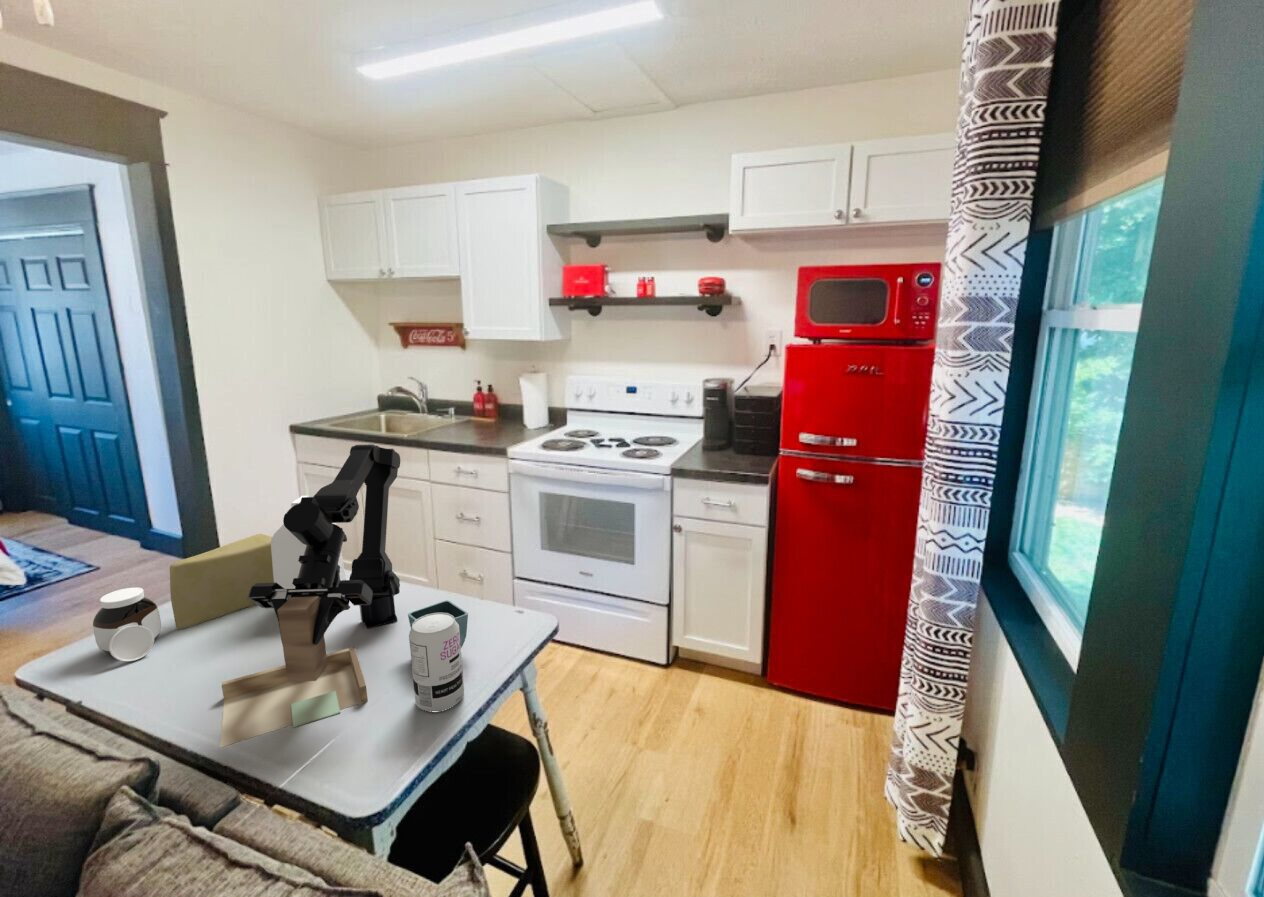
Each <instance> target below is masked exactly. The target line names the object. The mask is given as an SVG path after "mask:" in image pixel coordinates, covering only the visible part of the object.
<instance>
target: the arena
mask: <svg viewBox="0 0 1264 897" xmlns="http://www.w3.org/2000/svg"><path fill="white" fill-rule="evenodd" d="M356 651H357V650H356V647H355V646H352V647H349V648H344V649H341V650H337V651H334V652H330V653H326V655H327V662H328V666H327V667H326V668H325V670H324V671H323V672H322V674H321V675H320V676H319V678H318V679H317V680H316V681H301V682H288V678H287V672H286V665H285V664H284V665H281V666H277V667H274V668H270V669H266V670H261V671H259V672H255V673H252V674H247V675H244V676H240V677H237V678H232V679H229V680H225V681H222V682H221V690H222V696H223V710H222V721H221V730H220V732H221V733H220V742H219V748H223V747H226V746H230V745H233V744H236V743H240V742H242V741H245V740H249V739H252V738H254V737H259V736H262V735H264V734H268V733H271V732H275V731H278V730H281V729H284V728H287V727H290V726H292V728H298V727H300V726H303V725H307V724H309V723H313V722H316V721H319V720H323V719H326V718H329V717H332V716H334V715H338V714H340V713H341V711H342V710H344V709H347V708H350V707H351V708H352V707H353V706H356V705H360V704H363V703H367V702H368V700H369V699H368V692H367V691H368V690H367V683H366V681H365V677H364V675H363V671H362V668H361V665H360V661H359V658H358V654H357V652H356Z"/></svg>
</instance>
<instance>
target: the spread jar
mask: <svg viewBox="0 0 1264 897" xmlns="http://www.w3.org/2000/svg"><path fill="white" fill-rule="evenodd" d="M99 604H100V607H101V608H100V609H99V610H98V611H97V613H96V614H95V615H94V618H93V621H92V630H93V636H94V638H95V639H94V640H95V643H96V645H97V647H98V649H99V650H100V651H102V652H104V653H106V654H108V655H111V656H112V657H113V658H114V659H116V660H118V661H121V662H122V661H123V662H134V661H136V660H140V659H141V658H143V657H145V656H146V655H147V654H148V653H150V651H151V650H152V649H153V646H154V644H155V642H156V640H157V639H158V637H159V636H160V634H161V632H162V619H161V614H160V610H159V608H158V605H157V604H156V602H155V601H154V600H151V599H150V598H148V597H145V591H144V589H143V588H142V587H126V588H121V589H117V590H114V591H111V592H109V593H107V594H104V595H103V596H102V597H100V598H99Z"/></svg>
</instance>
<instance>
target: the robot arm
mask: <svg viewBox="0 0 1264 897" xmlns="http://www.w3.org/2000/svg"><path fill="white" fill-rule="evenodd" d="M400 466H401V456H400V453H398V452H397V451H395V449H394V448H384V447H381V446H378V445H375V444H355V445H352V446H351V447H350V450H349V455H348V456H347V459H345V462H344V463H343V465H342V467H341V468H340V470H339V471H338V473H337V475H336V476H335V478H334V480H333V481H332V482H331V483H328V484H327V485H324V486H323V487H321V488H320V489H319V490H318V491H317V492H316V493H315V494H314V495H313V496H309V497H302V499H301V502H300V503H299V504H296V505H294V506H293V507H292V508H291V507H290V508H289V509H288V510H287V512H286V513H285V514H284V516H283V520H282V522H283V524H284V526H285V528H286V529H288V530H289V531H290V532H291V533H292V534H293V535H294V536H295V537H296V538H297V539H298V540H299V541H300V542H302V543H303V544H305V545H306V549H305V553H304V556H300V557H299V560H298V561H299V562H300V563H301V568H300V571H299V575H298V578H294V579H293V583H292V584H293V585H294V586H295V589H284V588H283V587H282V586H280V585H279V584H278V583H256V584H255V585H253V586H252V587H251V588H250V590H249V593H248V597H247V599H249V600H250V601H252V602H253V603H255V605H257V606H259V607H260V609H261V608H262V609H266V610H267V609H273V610H274V612H275V616H276V619H277V623H278V628H279V633H280V634H279V635H280V636H281V632H280V625H279V618H278V612H277V610H278V609H279V608H280V607H281V606H282V605H283V604H285V603H286V602H287V601H288V600H289V599H290V598H291V597H314V596H319V602H320V604H319V609H318V614H317V619H316V623H315V628H314V633H313V644H314V645H317V644H318V643H319V641H320V640H321V638H322V637H323V635H324V636H325V634H326V632H327V631H328V628H329V627H330V626H331V624H332V623H333V621H334V620H335V619H336V617H337V616H338V615H339V614H341V613H342V612H344V611H348V610H350V608H351V606H350V603H351V604H352V605H353V607H354V606H359V613H360V620H361V622H362V623H363V624H364V626H365V628H366V629H371V628H374V627H378V626H382V625H387V624H390V623H393V622H396V621H398V616H397V614H396V606H395V598H394V596H396V595H399V594H400V593H401V592H400V587H401V584H400V583H401V582H400V581H401V580H400V578H399V576H398V575H397V574H396V573H395V572H394V571H393V563H392V561H391V559H390V558H389V556H388V555H387V553H386V544H387V543H386V542H387V529H388V528H387V527H388V526H387V525H388V508H389V507H388V506H389V496H390V494H389V493H390V488H391V487H392V484H393V483H394V481H395V480H396V479H397V477H398V470H399V468H400ZM363 484H365V502H364V517H363V532H362V545H361V547H362V548H361V553H359V555H358V556H357V558H354V559H353V560H352V561H351V573H350V575H349V579H348V580H347V579H346V580H342V581H341V580H340V575H339V574H340V566H339V565H338V561H339V557H340V552H342V547H343V543H346V542H347V541H348V538H347V535H346V534H345V531H344V529H343V527H340V526H339V525H338V524H341V523H343V524H345V523H351V522H353V520H354V518H355V517H356V516H357V515H358V512H359V509H360V508H359V507H360V505H359V501H358V498H357V496H358V493H359V491H360V489H361V488H362V486H363ZM332 523H336V524H337V525H335V524H332ZM280 640H281V642H282V638H281V637H280Z"/></svg>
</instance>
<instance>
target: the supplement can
mask: <svg viewBox="0 0 1264 897" xmlns="http://www.w3.org/2000/svg"><path fill="white" fill-rule="evenodd" d="M408 640H409V650H410V660H411V671H412V680H413V690H414V701H415V704H416V706H417V708H419V709H420V710H422V711H424V710H425V712H426V711H431V712H432V711H442V710H445V709H448V708H450V707H452V706H454V705H455V704H456V705H457V704H459V702H461V701H462V699H463V697H464V694H465V684H464V675H463V674H464V673H463V660H462V659H463V658H462V648H461V645H460V632H459V625H458V623H457V622H456V621H455V618H454V617H453V615H451V614H448V613H432V614H427V615H425V616H422V617H420V618H418V619H417V620H415V621H414V623H413V624H412V628H411V627H410V630H409V634H408ZM456 705H455V706H456ZM455 706H454V707H455ZM452 708H453V707H452ZM450 709H451V708H450ZM448 710H449V709H448ZM431 712H430V713H431ZM442 712H443V711H442Z"/></svg>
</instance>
